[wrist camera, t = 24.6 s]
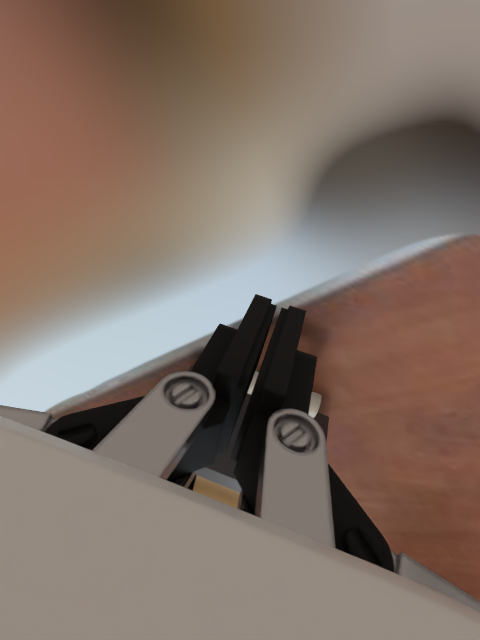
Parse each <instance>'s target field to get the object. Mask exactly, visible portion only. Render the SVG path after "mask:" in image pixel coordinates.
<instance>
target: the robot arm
mask: <svg viewBox="0 0 480 640" xmlns="http://www.w3.org/2000/svg"><path fill="white" fill-rule="evenodd" d="M271 301H272V300H271V299H268V298H266V297H263V296H260V295H257V294H256V295H255V297H254V299H253V301H252V303H251V304H250V306H249V308H248V310H247V313H246V314H245V316H244V318H243V320H242V322H241V324H240V326H239V328H238V330H237V329H234V328H231V327H228V326H225V325H223V324H219V326H218V327H217V329H216V330H215V332H214V334H213V335H212V337H211V339H210V340H209V342H208V344H207V345H206V347H205V348H204V350H203V352H202V353H201V355H200V357H199V358H198V360H197V362H196V363H195V365H194V367H193V368H192V370H191V372H190V371H178V372H174V373H171V374H168V375H167V376H166V377H164V378H163V379H162V380H161V381H160V382H159V383H158V384H157V385H156V386H155V387H154V388H153V389H152V390H151V391H150V392H149V393H148V394H147V395H146V396H143V397H139V398H135V399H131V400H126V401H122V402H118V403H114V404H110V405H106V406H101V407H97V408H93V409H89V410H85V411H80V412H76V413H72V414H69V415H66V416H63V417H61V418H59V419H55V418H52V416H51V413H45V412H39V411H32V410H26V409H20V408H13V407H8V406H2V405H0V640H480V601H479V600H477V599H475V598H474V597H472V596H471V595H469V594H468V593H466V592H464V591H463V590H461V589H460V588H458V587H457V586H455V585H453V584H452V583H450V582H449V581H447V580H446V579H444V578H442V577H441V576H439V575H438V574H436V573H435V572H433V571H431V570H430V569H428V568H427V567H425V566H424V565H422V564H420V563H419V562H417V561H416V560H414V559H413V558H411V557H409V556H408V555H406V554H405V553H403V552H401V553H400V554H399V555H397V554H396V553H394V552H393V551H391V550H390V548H389V545H388V544H387V542H386V540H385V539H384V537H383V536H382V534H381V533H380V532H379V530H378V529H377V528H376V526H375V525H374V524H373V522H372V521H371V520H370V518H369V517H368V516H367V514H366V513H365V512H364V510H363V509H362V508H361V506H360V505H359V504H358V502H357V501H356V500H355V498H354V497H353V496H352V494H351V493H350V492H349V490H348V489H347V488H346V486H345V485H344V484H343V483H342V481H341V480H340V479H339V477H338V476H337V475H336V473H335V472H334V471H333V469H332V468H331V467H330V465H329V464H328V460H327V449H326V439H325V435H324V431H323V430H322V428H321V426H320V425H319V423H318V422H317V421H316V420H315V419H314V418H313V417H311V416H309V415H308V414H309V407H310V401H311V394H312V388H313V381H314V374H315V368H316V361H317V358H316V357H315V356H312V355H309V354H306V353H303V352H301V351H298V350H297V347H298V343H299V338H300V334H301V330H302V326H303V321H304V317H305V313H306V311H305V310H302V309H299V308H296V307H293V306H289V309H288V310H287V309H285V308H282V309H281V311H280V314H279V317H278V320H277V323H276V326H275V328H274V331H273V334H272V337H271V340H270V343H269V345H268V348H267V351H266V354H265V357H264V359H263V362H262V365H261V368H260V371H259V374H258V376H257V379H256V382H255V385H254V388H253V391H252V394H251V397H250V400H249V403H248V406H247V409H246V412H245V415H244V418H243V421H242V424H241V427H240V430H239V433H238V435H237V438H236V441H235V444H234V447H233V450H232V453H231V456H230V459H231V460H233V461H236V465H235V468H234V471H233V474H234V476H235V478H236V480H237V482H238V484H239V485H240V487H241V491H240V495H239V500H238V507H237V508H234V507H232V506H229V505H227V504H224V503H222V502H219V501H217V500H214V499H212V498H209V497H207V496H204V495H202V494H199V493H197V492H194V491H192V490H189V489H187V488H188V487H189V485H190V483H191V482H192V480H193V479H194V476H195V474H196V471H197V470H199V469H202V468H205V467H207V466H210V465H213V463H214V461H215V458H216V456H217V454H218V455H220V456H223V457H224V455H225V452H226V450H227V447H228V444H229V442H230V439H231V436H232V433H233V431H234V428H235V425H236V423H237V420H238V417H239V414H240V412H241V409H242V406H243V404H244V401H245V398H246V395H247V393H248V390H249V387H250V385H251V382H252V379H253V376H254V374H255V371H256V368H257V365H258V362H259V359H260V356H261V353H262V350H263V346H264V343H265V340H266V337H267V334H268V331H269V328H270V325H271V322H272V319H273V316H274V313H275V310H276V307H277V306H276V305H273V304H271Z"/></svg>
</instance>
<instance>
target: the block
mask: <svg viewBox="0 0 480 640" xmlns="http://www.w3.org/2000/svg"><path fill="white" fill-rule="evenodd" d="M193 491H194V492H197V493H199V494H202V495H204V496H207V497H209V498H212V499H214V500H217V501H219V502H222V503H224V504H227V505H229V506H232V507H234V508H237V507H238V500H239V495H240V493H239V492H237V491H234V490H232V489H229V488H227V487H224V486H222V485H219V484H217V483H214V482H212V481H210V480H207V479H205V478H202V477H200V476H197V475H196V479H195V483H194V487H193Z"/></svg>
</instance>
